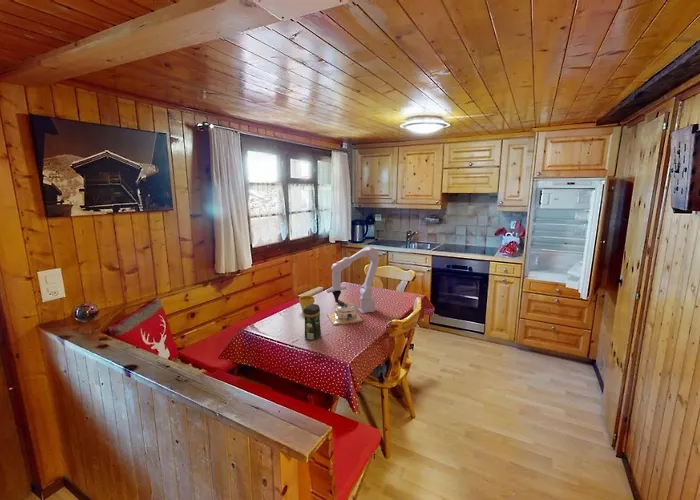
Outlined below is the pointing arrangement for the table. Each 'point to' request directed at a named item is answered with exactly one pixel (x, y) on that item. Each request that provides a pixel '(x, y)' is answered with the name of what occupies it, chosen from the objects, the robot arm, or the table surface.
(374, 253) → the robot arm
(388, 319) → the table surface
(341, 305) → the cooker lid
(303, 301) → the plant pot
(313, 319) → the coffee jar
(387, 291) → the table surface
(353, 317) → the tan square board
